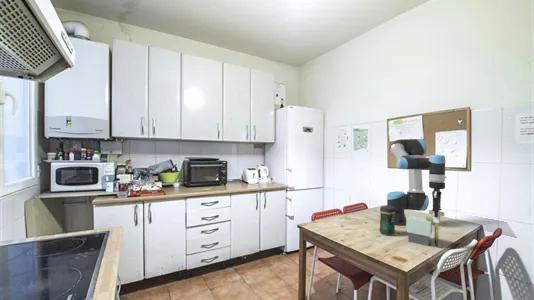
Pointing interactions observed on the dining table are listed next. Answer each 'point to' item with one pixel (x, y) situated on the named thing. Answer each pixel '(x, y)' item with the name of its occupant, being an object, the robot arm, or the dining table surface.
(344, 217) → the dining table surface
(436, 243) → the t key
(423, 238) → the block
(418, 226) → the mint green block
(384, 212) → the coffee jar
